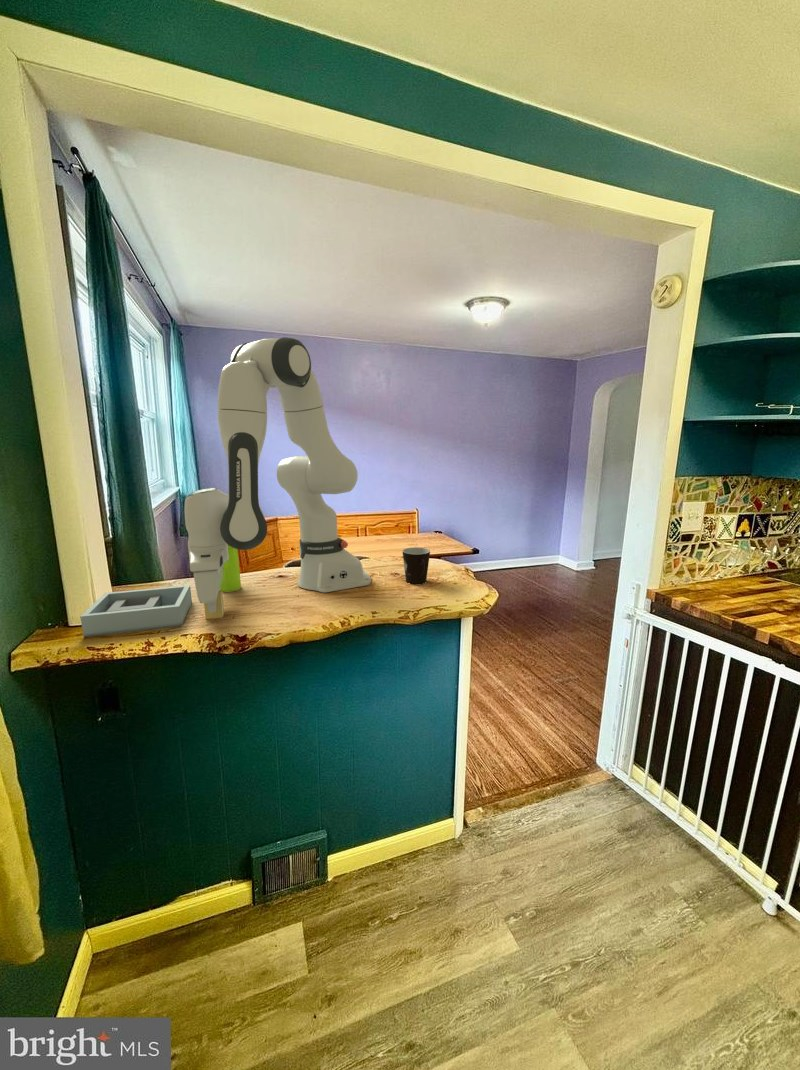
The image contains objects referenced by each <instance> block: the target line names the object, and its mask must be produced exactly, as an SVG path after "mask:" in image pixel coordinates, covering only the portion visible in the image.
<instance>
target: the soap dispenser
mask: <svg viewBox="0 0 800 1070" xmlns="http://www.w3.org/2000/svg"><path fill="white" fill-rule="evenodd" d="M227 546H228V556H229V559H228V561H226V562H225V563H224V567H223V579H222V583H221V586H220V590H222V593H223V592H226V593H229V592H234V591H235V592H236V591H238V590H241V588H242V584H241V573H240V559H239V549H235V548H233V547H231V546H229V545H228V544H227Z"/></svg>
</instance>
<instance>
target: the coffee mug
mask: <svg viewBox="0 0 800 1070" xmlns="http://www.w3.org/2000/svg"><path fill="white" fill-rule="evenodd" d="M430 554H431V550H430V549H428V548H426V547H417V546H416V547H407V548H403V549H402V559H403V567H404V577H405V582H407V584H408V583H410V584H409V585H412V584H421V585H424V584H426V583H427V578H428V571H429V562H430ZM425 582H426V583H425ZM423 583H424V584H423Z"/></svg>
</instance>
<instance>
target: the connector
mask: <svg viewBox="0 0 800 1070" xmlns="http://www.w3.org/2000/svg"><path fill="white" fill-rule="evenodd" d="M216 603H217V611H216V612H211V613H210V612H209V608H208V604H207V603H203V608H204V617H205V620H209V619H210V620H211V619H219V618H223V617H224V614H225V604H224V594H223V591H222V590H219V593H218V596H217V600H216Z"/></svg>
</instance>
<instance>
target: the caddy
mask: <svg viewBox="0 0 800 1070" xmlns="http://www.w3.org/2000/svg"><path fill="white" fill-rule="evenodd" d="M191 591H192V590H191V585H190V584H189V585H187V584H186V585H177V586H165V587H164V586H162V587H154V588H144V589H133V590H123V591H122V590H121V591H111V592H105V593H104V594H102V595H101V596H100V597H99V598H98V599H97V600H96V601H95V602H93V604H92V605H91V606H90V607H88V609H87V610H86V611H84V612H83V613H82V614H81V616H80V624H81V630H82V635H83V638H88V637H90V638H91V637H98V636H107V635H115V634H123V633H124V634H125V633H130V632H131V633H132V632H141V631H148V630H157V629H165V628H174V627H182V626H183V623H184V621H185V618H186V617H187V615H188V612H189V610H190V608H191V606H192V604H193V600H192V592H191Z"/></svg>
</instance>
